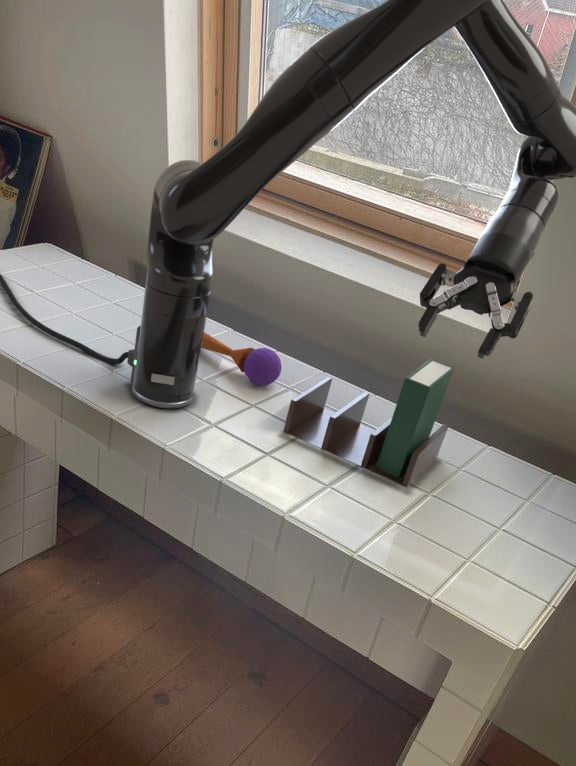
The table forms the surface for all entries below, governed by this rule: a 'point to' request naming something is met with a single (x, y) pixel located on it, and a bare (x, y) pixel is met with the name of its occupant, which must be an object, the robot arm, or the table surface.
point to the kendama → (249, 360)
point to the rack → (352, 432)
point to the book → (414, 416)
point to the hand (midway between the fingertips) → (450, 344)
